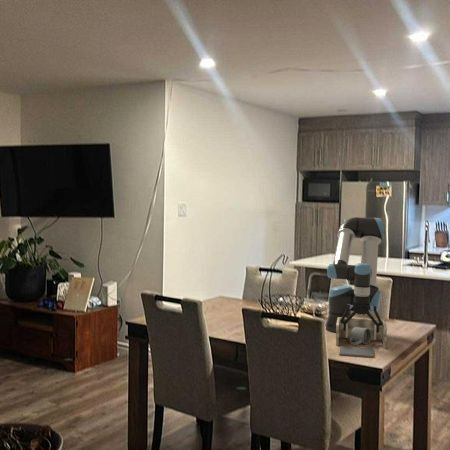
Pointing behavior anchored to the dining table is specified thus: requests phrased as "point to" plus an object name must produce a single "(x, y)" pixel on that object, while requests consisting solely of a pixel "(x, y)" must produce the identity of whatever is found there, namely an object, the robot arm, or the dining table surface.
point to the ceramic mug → (360, 335)
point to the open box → (362, 324)
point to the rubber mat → (356, 351)
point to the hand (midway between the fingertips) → (360, 338)
